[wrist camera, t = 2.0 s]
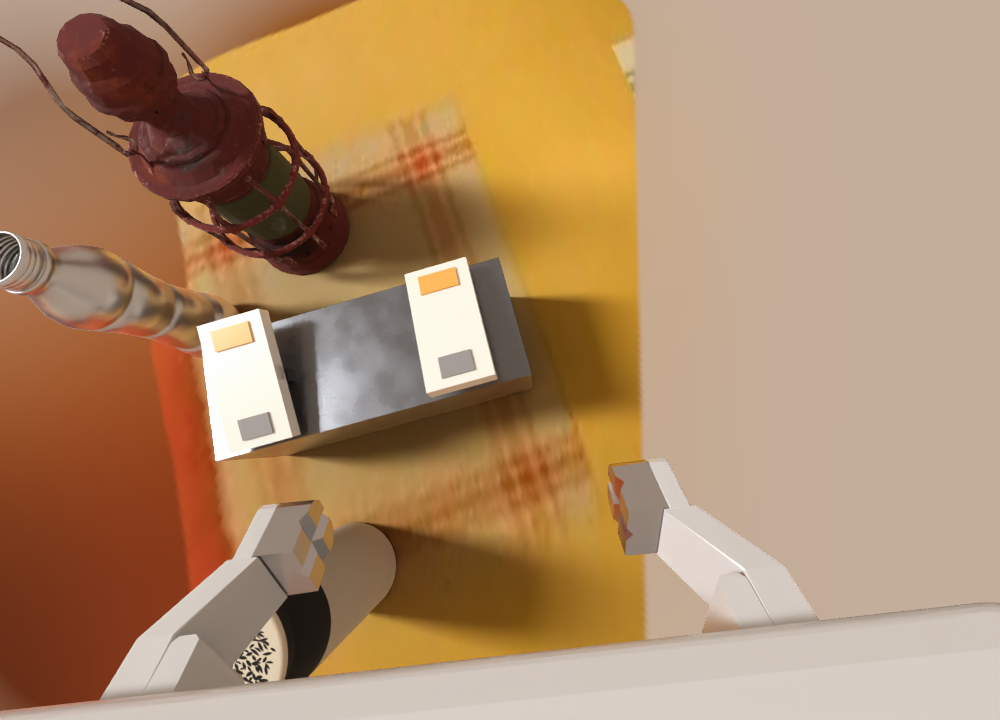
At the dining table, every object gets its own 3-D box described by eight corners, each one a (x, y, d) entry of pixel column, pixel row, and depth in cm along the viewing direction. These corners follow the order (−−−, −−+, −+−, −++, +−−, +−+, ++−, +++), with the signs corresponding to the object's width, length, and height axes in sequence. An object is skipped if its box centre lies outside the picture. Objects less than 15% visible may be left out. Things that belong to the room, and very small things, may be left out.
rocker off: (300, 434, 33) (291, 437, 32) (240, 450, 33) (228, 454, 32) (267, 310, 33) (257, 308, 32) (208, 327, 33) (195, 326, 32)
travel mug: (334, 511, 42) (186, 565, 24) (408, 537, 41) (309, 612, 23) (306, 593, 41) (129, 711, 23) (381, 622, 40) (256, 769, 22)
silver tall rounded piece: (240, 292, 47) (28, 191, 28) (261, 344, 46) (54, 276, 26) (188, 319, 47) (-59, 237, 28) (208, 372, 46) (-38, 325, 26)
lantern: (304, 163, 50) (-39, -234, 20) (379, 220, 47) (117, -133, 18) (233, 242, 49) (-237, -56, 19) (306, 304, 46) (-97, 75, 17)
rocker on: (497, 379, 31) (494, 373, 29) (431, 397, 31) (425, 392, 29) (468, 265, 34) (465, 255, 33) (409, 282, 34) (403, 273, 33)
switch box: (533, 388, 42) (531, 372, 32) (288, 455, 44) (206, 461, 33) (506, 294, 44) (496, 248, 34) (273, 360, 46) (191, 337, 35)
